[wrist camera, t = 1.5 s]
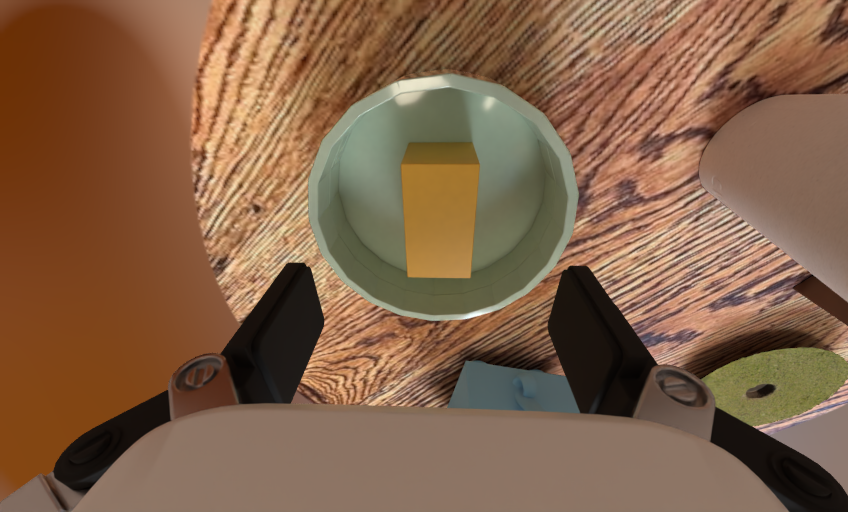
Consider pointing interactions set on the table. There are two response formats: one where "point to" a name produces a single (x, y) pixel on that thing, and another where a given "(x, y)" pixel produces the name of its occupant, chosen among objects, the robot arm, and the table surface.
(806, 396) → the mat
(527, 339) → the table surface
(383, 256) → the bowl
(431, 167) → the yellow rectangular block
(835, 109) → the dixie cup
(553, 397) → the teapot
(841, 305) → the stand
